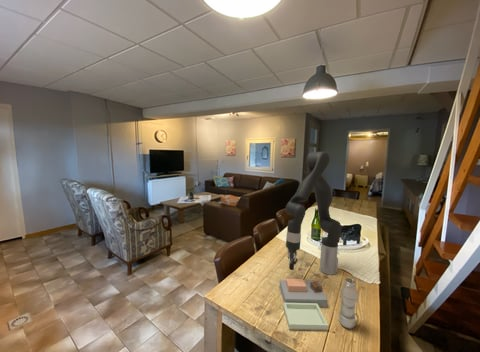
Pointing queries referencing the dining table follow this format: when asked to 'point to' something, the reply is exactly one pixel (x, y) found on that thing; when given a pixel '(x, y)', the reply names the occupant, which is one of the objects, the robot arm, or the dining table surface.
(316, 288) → the walnut block
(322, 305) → the grey slab
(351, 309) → the plastic bottle
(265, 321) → the dining table surface
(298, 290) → the terracotta tile
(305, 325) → the tray
